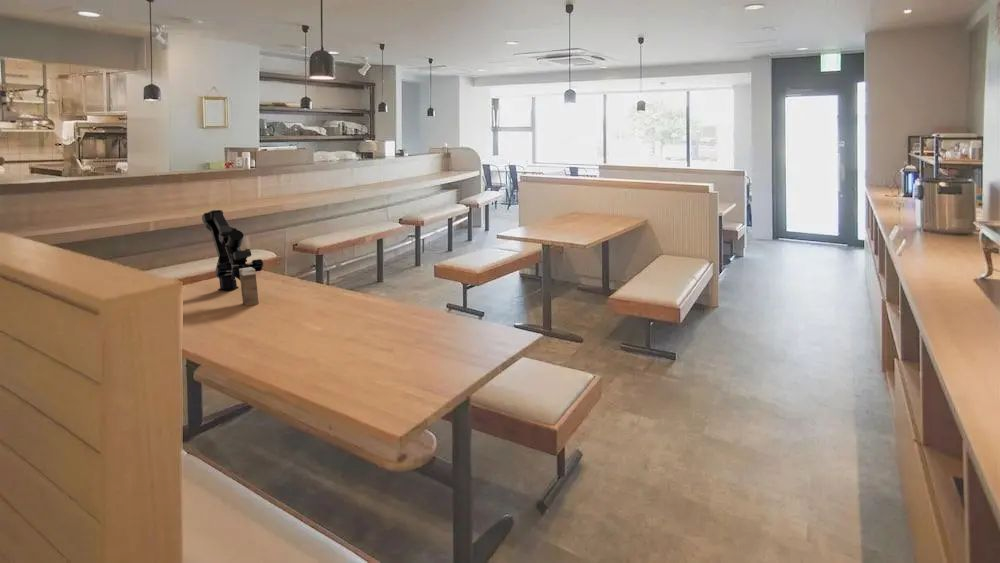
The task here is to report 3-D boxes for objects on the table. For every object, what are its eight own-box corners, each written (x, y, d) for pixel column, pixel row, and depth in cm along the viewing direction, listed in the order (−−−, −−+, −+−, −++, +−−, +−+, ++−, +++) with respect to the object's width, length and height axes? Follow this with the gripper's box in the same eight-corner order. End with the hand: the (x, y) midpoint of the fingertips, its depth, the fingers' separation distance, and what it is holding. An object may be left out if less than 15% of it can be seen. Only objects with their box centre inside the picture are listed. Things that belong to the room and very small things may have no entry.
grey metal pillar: (242, 303, 264) (239, 268, 261) (254, 301, 267) (251, 267, 264) (246, 305, 260) (242, 270, 257) (258, 303, 263) (255, 269, 260)
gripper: (214, 245, 260) (224, 276, 254) (259, 240, 271) (270, 269, 265) (211, 261, 268) (221, 291, 262) (255, 255, 279) (266, 284, 273)
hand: (245, 283), depth 265 cm, fingers closed
